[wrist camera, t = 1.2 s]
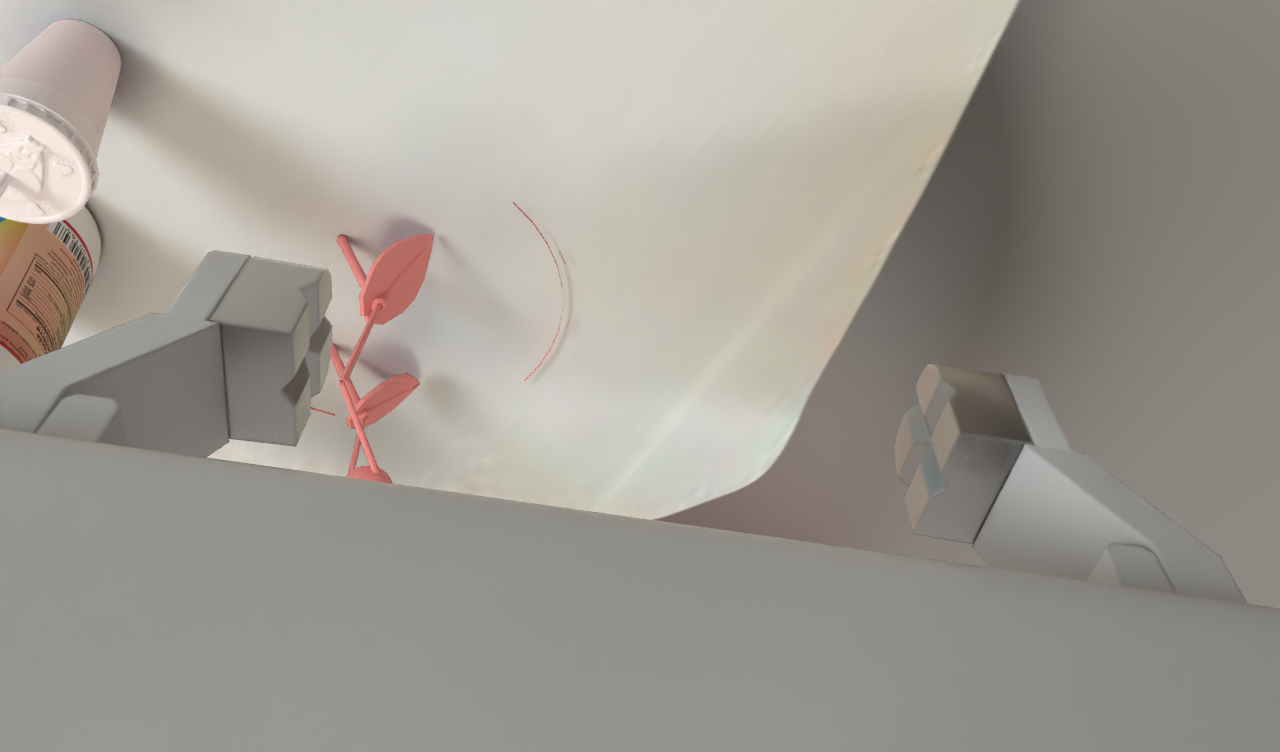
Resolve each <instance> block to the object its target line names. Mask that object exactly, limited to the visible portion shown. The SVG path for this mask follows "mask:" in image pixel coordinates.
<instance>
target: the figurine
mask: <svg viewBox="0 0 1280 752" xmlns="http://www.w3.org/2000/svg"><path fill="white" fill-rule="evenodd" d="M513 203H514V202H513ZM514 204H515V203H514ZM515 205H516V204H515ZM516 206H517V205H516ZM517 207H518V206H517ZM518 208H519V207H518ZM519 210H520V211H521V212H522V213H523V214H524V215H525V216H526V217H527V218H528V219H529V220H530V221H531V222H532V223H533V221H532V220H531V219H530V218H529V217H528V216H527V215H526V214H525V213H524V212H523V211H522V210H521V209H520V208H519ZM533 224H534V223H533ZM534 226H535V224H534ZM535 227H536V226H535ZM536 229H537V227H536ZM537 230H538V229H537ZM538 232H539V233H540V231H539V230H538ZM540 235H541V236H542V234H541V233H540ZM433 236H434V235H431V234H426V235H417V236H414V237H410V238H407V239H403V240H400V241H397V242H395V243H394V244H392V245H391V246H390V247H388V248H387V249H385V250H384V251H383V252H381V253H380V255H379V256H378V258H377V259H376V261H375V262H374V263H373V265H372V266H371V268H370V270H369V273H368V275H367V277H366V276H365V274H364V272H363V270H362V268H361V266H360V264H359V262H358V260H357V258H356V256H355V255H354V253H353V251H352V249H351V247H350V245H349V243H348V241H347V239H346V237H345V236H339V237H338V238H337V242H338V244H339V246H340V248H341V250H342V252H343V254H344V256H345V258H346V260H347V262H348V264H349V266H350V268H351V270H352V271H353V273H354V275H355V277H356V279H357V281H358V283H359V285H360V287H361V289H362V290H361V293H360V295H359V297H360V315H362V316H365V322H367V324H366V326H365V328H364V331H363V333H362V335H361V337H360V339H359V341H358V343H357V345H356V347H355V349H354V351H353V353H352V355H351V357H350V359H349V361H348V363H347V365H346V367H344V365H343V362H342V360H341V358H340V356H339V354H338V352H337V350H336V348H335V346H334V345H333V344H332V346H331V356H330V358H331V360H332V362H333V364H334V366H335V368H336V370H337V373H338V375H339V377H340V379H339V382H340V384H339V386H340V388H341V391H342V394H343V396H344V399H345V402H346V404H347V407H348V409H349V413H350V415H349V416H348V417H347V425H348V427H349V428H351V429H356V430H357V437H356V441H355V445H354V449H353V454H352V458H351V462H350V466H349V471H348V475H347V476H346V477H348V478H355V479H362V480H369V481H376V482H384V483H391V484H392V481H391V479H390V477H389V476H388V475H387V473H386V472H384V471H383V470H382V469H380V468H378V465H377V463H376V460H375V458H374V455H373V453H372V450H371V447H370V445H369V442H368V440H367V437H366V435H365V432H364V427H366V426H368V425H370V424H373V423H375V422H376V421H378V420H379V419H381V418H382V417H384V416H385V415H386V414H388V413H389V412H391V411H392V410H393V409H394V408H395V407H396V406H398V405H399V404H400V403H401V402H402V401H403V400H404V399H405V398H406V397H407V396H408V395H409V394H411V393H412V392H413V391H414V390H415V388H416V387H417V386H418V385H419V384H420V382H419V381H418V380H417V379H416V378H415V377H414V378H413V376H412V377H411V375H409V374H408V373H405V374H401V375H396V376H393V377H391V378H390V379H388V380H386V381H384V382H382V383H381V384H379V385H378V386H377V387H375V388H374V389H373V390H372V391H370V392H369V393H368V394H366V395H365V396H364V397H363V398H361V400H360V398H359V396H358V394H357V392H356V390H355V388H354V386H353V384H352V381H351V379H350V377H349V376H350V374H351V372H352V370H353V368H354V366H355V363H356V361H357V359H358V357H359V355H360V353H361V350H362V348H363V346H364V344H365V342H366V339H367V337H368V335H369V333H370V331H371V329H372V326H373V324H374V323H375V324H381V325H383V324H384V323H386V322H388V321H389V320H391V319H393V318H394V317H396V316H398V315H399V314H401V313H403V311H404V310H405V309H406V308H407V307H408V306H409V305H410V304H411V303H412V302H413V301H414V299H415V297H416V295H417V293H418V291H419V289H420V287H421V285H422V283H423V281H424V278H425V274H426V270H427V266H428V262H429V258H430V254H431V249H432V243H433ZM542 237H543V236H542ZM543 239H544V237H543ZM544 240H545V239H544ZM545 242H546V240H545ZM546 243H547V242H546ZM555 243H556V242H555ZM547 245H548V243H547ZM548 247H549V245H548ZM549 249H550V248H549ZM550 251H551V250H550ZM559 252H560V251H559ZM551 254H552V252H551ZM560 254H561V253H560ZM552 256H553V254H552ZM561 256H562V255H561ZM553 258H554V256H553ZM562 258H563V257H562ZM554 260H555V259H554ZM563 261H564V259H563ZM555 263H556V261H555ZM564 263H565V261H564ZM556 265H557V263H556ZM557 267H558V266H557ZM558 272H559V270H558ZM559 276H560V274H559ZM560 280H561V279H560ZM561 285H562V283H561ZM562 291H563V290H562ZM562 312H563V310H562ZM561 317H562V316H561ZM560 322H561V321H560ZM568 322H569V321H568ZM559 327H560V326H559ZM567 327H568V326H567ZM558 331H559V330H558ZM557 334H558V332H557ZM556 336H557V335H556ZM555 338H556V337H555ZM554 341H555V339H554ZM553 343H554V342H553ZM552 346H553V344H552ZM552 346H551V348H552ZM551 348H550V350H551ZM550 350H549V351H550ZM549 351H548V353H549ZM548 353H547V354H548ZM547 354H546V356H547ZM546 356H545V357H546ZM545 357H544V359H545ZM544 359H543V360H544ZM543 360H542V362H543ZM542 362H541V363H542ZM541 363H540V365H541ZM540 365H539V366H540ZM539 366H538V367H539ZM538 367H537V368H538ZM537 368H536V369H537ZM536 369H535V370H536ZM535 370H534V371H535ZM534 371H533V372H534ZM533 372H532V373H533ZM532 373H531V374H532ZM531 374H530V375H531ZM530 375H529V376H530ZM529 376H528V377H529ZM528 377H527V378H528ZM527 378H526V379H527ZM526 379H525V380H526ZM525 380H524V381H525ZM310 409H313V410H316V411H320V412H323V413H326V414H330V415H333V416H335V414H332V413H329V412H325V411H322V410H319V409H315V408H312V407H310ZM360 444H362V446H363V449H364V452H365V454H366V457H367V459H368V462H369V465H370V466H361V467H358V468H356V469H355V467H356V463H357V458H358V453H359V449H360Z"/></svg>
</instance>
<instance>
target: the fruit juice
mask: <svg viewBox="0 0 1280 752" xmlns="http://www.w3.org/2000/svg"><path fill="white" fill-rule="evenodd" d="M100 254H101V240H100V234H99V231H98V228H97V225H96V223H95V221H94V219H93V217H92V215H91V214H90V212H89V211H88V209H87V208H86V207H85V206H84V207H83V208H82V209H81V210H80V211H79V212H78V213H77V214H75V215H74V216H72V217H70V218H68V219H65V220H63V221H59V222H55V223H48V224H31V223H23V222H18V221H13V220H9V219H6V218H3V217H0V372H2V371H4V370H7V369H9V368H12V367H14V366H17V365H20V364H22V363H25V362H27V361H30V360H32V359H35V358H38V357H40V356H43V355H45V354H48V353H50V352H53V351H55V350H58V349H61V347H62V345H63V343H64V341H65V339H66V336H67V334H68V332H69V330H70V328H71V325H72V323H73V321H74V319H75V317H76V314H77V312H78V310H79V308H80V306H81V303H82V301H83V299H84V297H85V295H86V292H87V290H88V288H89V286H90V284H91V282H92V279H93V277H94V275H95V273H96V270H97V267H98V263H99V259H100Z"/></svg>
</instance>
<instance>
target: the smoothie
mask: <svg viewBox="0 0 1280 752" xmlns="http://www.w3.org/2000/svg"><path fill="white" fill-rule="evenodd" d="M120 70H121V57H120V54H119V52H118V49H117V48H116V46H115V44H114V43H113V42H112V40H111V39H110V38H109V37H108V36H107V35H106V34H104V33H103V32H102V31H101V30H99V29H98V28H96V27H94V26H92V25H90V24H88V23H85V22H82V21H78V20H71V19H66V20H59V21H56V22H53V23H52V24H50V25H49V26H47V27H46V28H45V29H44V30H43V31H42V32H41V33H40V34H39V35H38V36H36V37H35V38H34V39H33V40H32V41H31V42H30V43H29V44H28V45H27V46H26V47H24V48H23V49H22V50H21V51H20V52H19V53H18V54H17V55H16V56H15V57H13V58H12V59H11V60H10V61H9V62H8V63H7V64H6V65H5V66H4V67H2V68H1V69H0V217H3V218H6V219H9V220H13V221H18V222H23V223H31V224H48V223H55V222H59V221H63V220H65V219H68V218H70V217H72V216H74V215H75V214H77V213H78V212H79V211H80V210H81V209H82V208H83V207H84V206H85V204H86V203H87V201H88V199H89V198H90V196H91V195H92V193H93V192H94V190H95V189H96V186H97V181H98V175H99V173H98V167H97V161H96V158H97V155H98V150H99V147H100V143H101V139H102V136H103V132H104V128H105V125H106V121H107V118H108V114H109V110H110V107H111V103H112V99H113V96H114V92H115V88H116V85H117V81H118V78H119V74H120Z"/></svg>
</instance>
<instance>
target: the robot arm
mask: <svg viewBox="0 0 1280 752" xmlns="http://www.w3.org/2000/svg"><path fill="white" fill-rule="evenodd" d="M331 299H332V284H331V275H330V272H329V270H328V269H323V268H317V267H312V266H306V265H300V264H295V263H289V262H283V261H278V260H272V259H266V258H260V257H255V256H254V257H251V256H250V255H244V254H237V253H230V252H224V251H217V250H214V251H211V252H208V253H207V254H206V256H205V257H204V258H203V260H202V261H201V263H200V264H199V265H198V267H197V268H196V270H195V271H194V273H193V274H192V275H191V277H190V278H189V280H188V281H187V282H186V284H185V285H184V287H183V288H182V290H181V291H180V292H179V294H178V295H177V297H176V298H175V299H174V301H173V302H172V304H171V305H170V307H169V308H168V309H167V311H166V312H165V314H160V313H150V314H148V315H145V316H143V317H140V318H138V319H135V320H132V321H130V322H127V323H125V324H122V325H120V326H117V327H114V328H112V329H109V330H107V331H104V332H102V333H99V334H97V335H94V336H91V337H89V338H86V339H84V340H81V341H79V342H76V343H73V344H71V345H68V346H66V347H63V348H61V349H58V350H55V351H53V352H50V353H48V354H45V355H43V356H40V357H38V358H35V359H32V360H30V361H27V362H25V363H22V364H20V365H17V366H14V367H12V368H9V369H7V370H4V371H2V372H0V752H1280V608H1274V607H1267V606H1260V605H1253V604H1248V603H1247V602H1246V600H1245V598H1244V596H1243V595H1242V593H1241V591H1240V589H1239V588H1238V586H1237V584H1236V582H1235V580H1234V579H1233V577H1232V575H1231V573H1230V572H1229V570H1228V568H1227V566H1226V564H1225V563H1224V561H1223V559H1222V557H1221V556H1220V555H1218V554H1217V553H1216V552H1214V551H1213V550H1212V549H1211V548H1209V547H1208V546H1207V545H1205V544H1204V543H1203V542H1201V541H1200V540H1199V539H1197V538H1196V537H1195V536H1193V535H1192V534H1191V533H1189V532H1188V531H1186V530H1185V529H1184V528H1183V527H1181V526H1180V525H1179V524H1177V523H1176V522H1175V521H1173V520H1172V519H1171V518H1169V517H1168V516H1167V515H1165V514H1164V513H1163V512H1161V511H1160V510H1159V509H1157V508H1156V507H1155V506H1153V505H1152V504H1151V503H1149V502H1148V501H1147V500H1145V499H1144V498H1143V497H1141V496H1140V495H1139V494H1137V493H1136V492H1135V491H1133V490H1132V489H1131V488H1129V487H1128V486H1127V485H1125V484H1124V483H1123V482H1122V481H1120V480H1119V479H1117V478H1116V477H1115V476H1114V475H1112V474H1111V473H1109V472H1108V471H1107V470H1106V469H1104V468H1103V467H1101V466H1100V465H1099V464H1098V463H1096V462H1095V461H1093V460H1092V459H1091V458H1090V457H1088V456H1087V455H1086V454H1084V453H1081V452H1076V451H1073V450H1072V448H1071V446H1070V444H1069V442H1068V440H1067V438H1066V436H1065V434H1064V431H1063V429H1062V427H1061V425H1060V423H1059V421H1058V419H1057V417H1056V415H1055V413H1054V410H1053V408H1052V406H1051V404H1050V402H1049V400H1048V398H1047V396H1046V393H1045V391H1044V389H1043V387H1042V385H1041V383H1040V382H1039V381H1038V380H1036V379H1035V378H1034V377H1026V376H1017V375H1009V374H1001V373H999V374H998V373H990V372H983V371H975V370H968V369H960V368H952V367H945V366H938V365H930V364H928V365H927V367H926V368H925V369H924V371H923V372H922V374H921V376H920V378H919V380H918V383H917V385H916V391H917V395H918V398H919V402H920V403H919V404H917V405H916V406H915V407H913V408H911V409H910V410H908V411H907V412H906V413H905V414H904V417H903V420H902V422H901V425H900V428H899V430H898V435H897V441H896V447H895V462H896V463H895V464H896V469H897V473H898V477H899V478H900V479H901V480H902V481H903V482H904V483H905V484H906V485H907V486H908V487H909V490H908V493H907V495H906V497H905V500H904V501H905V505H906V508H907V512H908V516H909V520H910V523H911V527H912V531H913V534H915V535H921V536H927V537H933V538H939V539H945V540H951V541H956V542H962V543H968V544H973V546H972V547H973V548H974V549H975V550H976V551H977V553H978V554H979V555H980V556H981V557H982V558H983V560H984V561H985V562H986V563H987V564H988V565H989V566H990V567H983V566H976V565H969V564H962V563H955V562H947V561H939V560H933V559H926V558H918V557H912V556H905V555H897V554H890V553H883V552H876V551H869V550H862V549H854V548H847V547H840V546H833V545H826V544H819V543H811V542H805V541H797V540H790V539H783V538H776V537H769V536H762V535H755V534H747V533H739V532H733V531H725V530H719V529H711V528H705V527H697V526H690V525H683V524H675V523H668V522H662V521H654V520H647V519H640V518H633V517H626V516H619V515H612V514H605V513H598V512H590V511H583V510H576V509H569V508H562V507H555V506H548V505H541V504H533V503H526V502H519V501H512V500H505V499H498V498H491V497H483V496H476V495H469V494H462V493H455V492H448V491H441V490H434V489H426V488H419V487H412V486H405V485H398V484H391V483H384V482H376V481H369V480H362V479H355V478H348V477H341V476H334V475H327V474H319V473H312V472H305V471H298V470H291V469H284V468H277V467H269V466H262V465H255V464H248V463H241V462H234V461H227V460H220V459H212V458H206V457H208V456H209V455H211V454H212V453H214V452H215V451H217V450H218V449H220V448H221V447H222V446H224V445H225V444H227V443H228V442H229V439H236V440H245V441H253V442H262V443H270V444H279V445H288V446H296V445H297V443H298V441H299V439H300V436H301V434H302V432H303V430H304V427H305V425H306V423H307V421H308V419H309V416H310V398H311V397H313V396H315V395H317V394H318V393H320V391H321V389H322V386H323V384H324V381H325V379H326V375H327V370H328V366H329V362H330V356H331V346H332V325H331V324H330V322H329V321H328V320H327V318H326V317H325V316H324V314H325V312H326V310H327V308H328V305H329V303H330V301H331Z"/></svg>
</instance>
